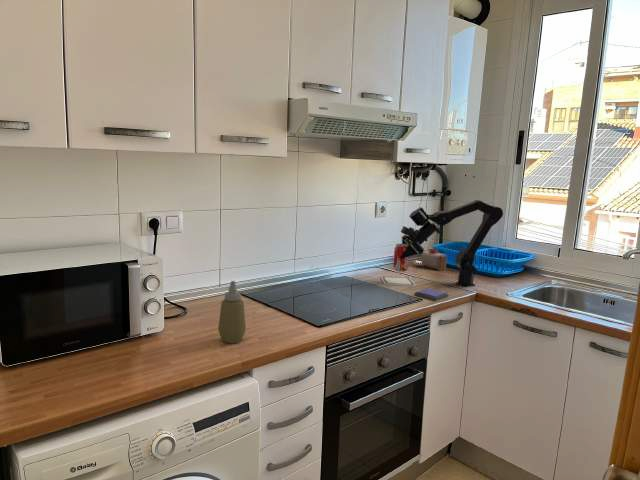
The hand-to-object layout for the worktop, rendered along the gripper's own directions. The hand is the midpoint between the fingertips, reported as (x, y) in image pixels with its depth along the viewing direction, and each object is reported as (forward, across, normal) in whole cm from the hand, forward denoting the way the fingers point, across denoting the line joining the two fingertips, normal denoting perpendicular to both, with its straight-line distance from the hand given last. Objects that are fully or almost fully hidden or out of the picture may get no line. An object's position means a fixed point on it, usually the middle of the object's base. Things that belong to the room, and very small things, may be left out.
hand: (398, 256), depth 214 cm
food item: (-11, -34, +29) cm, 46 cm away
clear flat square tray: (+8, -2, +9) cm, 13 cm away
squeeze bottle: (+56, +72, -40) cm, 99 cm away
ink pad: (+2, +20, +16) cm, 25 cm away
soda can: (+4, 0, +6) cm, 7 cm away
